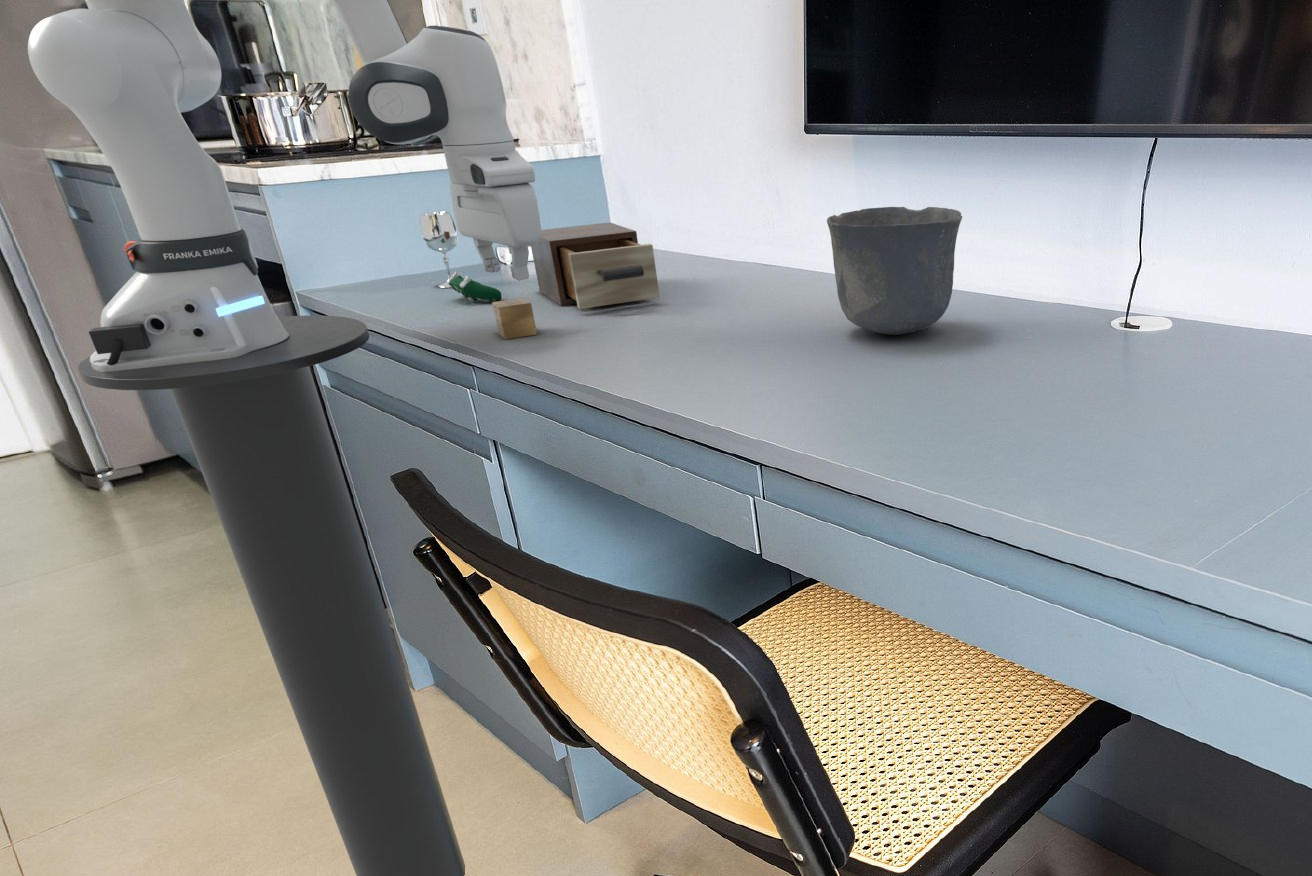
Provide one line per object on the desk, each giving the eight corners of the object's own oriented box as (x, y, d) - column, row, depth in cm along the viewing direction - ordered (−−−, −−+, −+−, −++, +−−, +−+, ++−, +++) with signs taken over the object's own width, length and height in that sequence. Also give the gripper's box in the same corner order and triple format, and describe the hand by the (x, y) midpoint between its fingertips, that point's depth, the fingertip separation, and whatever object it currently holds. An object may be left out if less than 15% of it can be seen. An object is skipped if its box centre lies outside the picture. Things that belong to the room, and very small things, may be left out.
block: (505, 339, 139) (498, 307, 137) (498, 333, 142) (491, 302, 140) (537, 334, 141) (531, 302, 138) (530, 328, 144) (523, 297, 142)
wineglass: (462, 280, 181) (446, 210, 175) (473, 284, 177) (457, 212, 171) (429, 285, 177) (412, 213, 172) (440, 289, 173) (423, 216, 168)
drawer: (669, 301, 152) (662, 247, 149) (588, 313, 147) (578, 258, 143) (634, 285, 165) (626, 235, 162) (558, 295, 160) (548, 244, 156)
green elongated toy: (473, 306, 169) (441, 284, 164) (484, 287, 169) (453, 265, 165) (493, 314, 162) (460, 292, 158) (505, 294, 163) (473, 271, 158)
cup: (993, 331, 132) (995, 210, 125) (898, 358, 122) (894, 229, 115) (900, 312, 144) (897, 201, 137) (805, 336, 133) (797, 217, 126)
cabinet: (645, 293, 163) (636, 230, 159) (561, 305, 157) (549, 240, 153) (619, 281, 174) (610, 222, 169) (539, 292, 168) (527, 231, 163)
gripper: (430, 166, 136) (455, 270, 143) (491, 172, 123) (515, 287, 129) (475, 161, 140) (497, 263, 146) (539, 167, 126) (560, 279, 133)
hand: (506, 275), depth 138 cm, fingers open, 8 cm apart
